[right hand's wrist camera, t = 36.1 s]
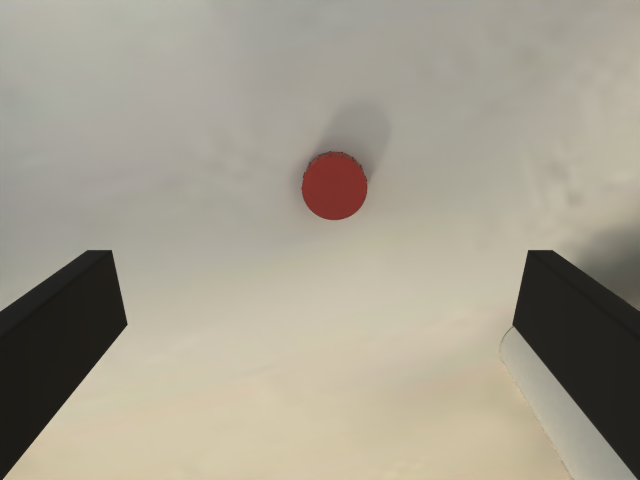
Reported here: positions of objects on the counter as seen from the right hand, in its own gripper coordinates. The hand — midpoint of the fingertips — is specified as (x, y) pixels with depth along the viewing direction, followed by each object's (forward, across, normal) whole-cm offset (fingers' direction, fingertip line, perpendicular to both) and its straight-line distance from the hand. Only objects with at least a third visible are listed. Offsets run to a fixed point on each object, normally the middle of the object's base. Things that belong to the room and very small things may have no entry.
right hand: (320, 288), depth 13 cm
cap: (+12, +1, 0) cm, 12 cm away
